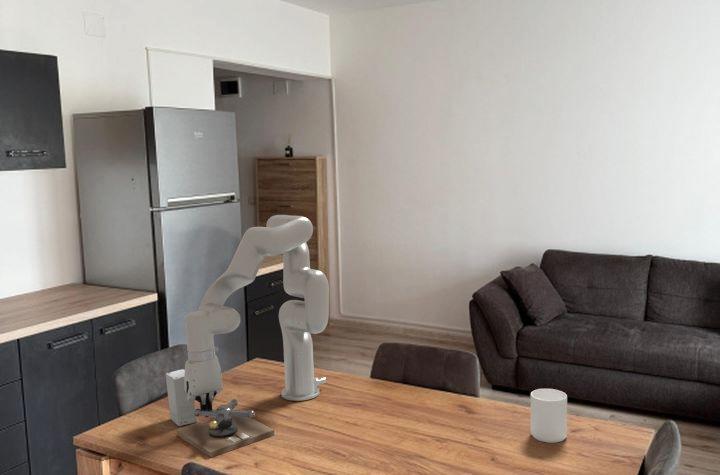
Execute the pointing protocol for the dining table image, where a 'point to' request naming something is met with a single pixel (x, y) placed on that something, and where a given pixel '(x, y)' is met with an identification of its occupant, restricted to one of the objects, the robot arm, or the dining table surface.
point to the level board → (218, 445)
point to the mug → (549, 415)
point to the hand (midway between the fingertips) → (206, 415)
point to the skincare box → (179, 399)
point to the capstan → (224, 419)
